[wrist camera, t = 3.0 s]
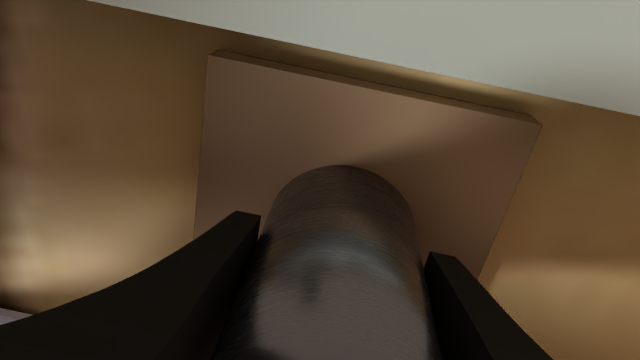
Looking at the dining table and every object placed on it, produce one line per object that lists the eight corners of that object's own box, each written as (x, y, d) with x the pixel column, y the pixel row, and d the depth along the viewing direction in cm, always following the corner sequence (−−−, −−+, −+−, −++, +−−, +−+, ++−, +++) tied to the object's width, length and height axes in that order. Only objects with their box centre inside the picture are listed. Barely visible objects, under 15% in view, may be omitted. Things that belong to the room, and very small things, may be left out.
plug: (393, 304, 13) (421, 618, 7) (258, 276, 13) (158, 562, 7) (433, 183, 11) (523, 448, 5) (278, 150, 11) (170, 373, 5)
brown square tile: (436, 348, 15) (440, 367, 14) (196, 297, 15) (187, 314, 14) (531, 115, 11) (542, 125, 10) (218, 49, 11) (208, 55, 10)
